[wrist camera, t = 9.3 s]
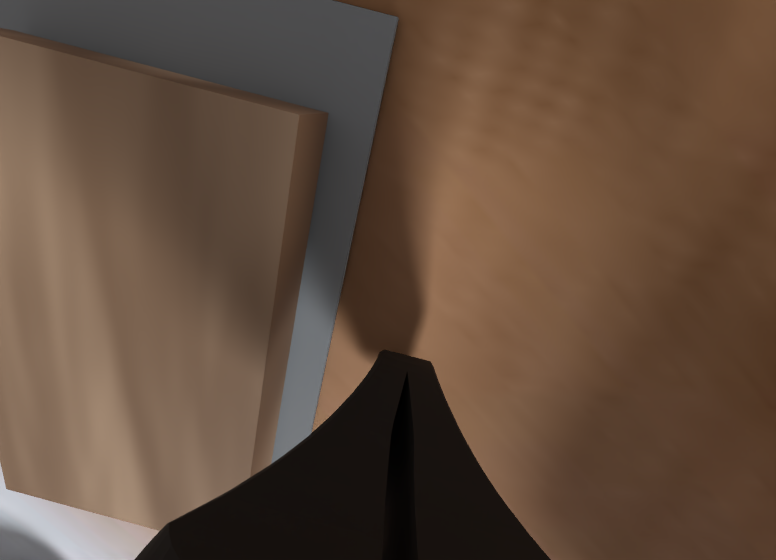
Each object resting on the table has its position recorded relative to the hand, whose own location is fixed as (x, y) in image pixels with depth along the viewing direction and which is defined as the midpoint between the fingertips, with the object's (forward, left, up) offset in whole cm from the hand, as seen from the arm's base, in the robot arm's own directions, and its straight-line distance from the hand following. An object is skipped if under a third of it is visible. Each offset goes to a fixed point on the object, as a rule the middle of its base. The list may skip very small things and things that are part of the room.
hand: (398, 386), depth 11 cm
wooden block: (+3, 0, 0) cm, 3 cm away
